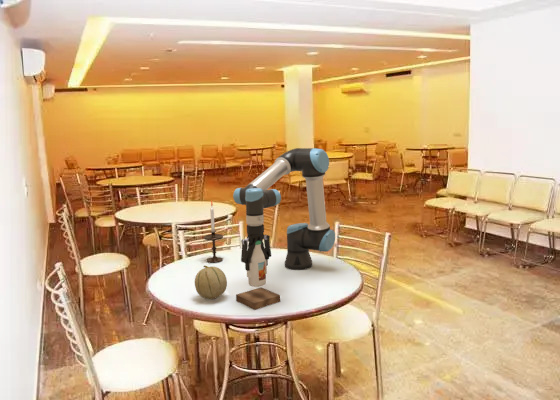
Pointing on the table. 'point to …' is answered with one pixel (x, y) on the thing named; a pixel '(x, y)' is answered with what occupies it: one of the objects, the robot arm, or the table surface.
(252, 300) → the block
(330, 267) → the table surface
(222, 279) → the cantaloupe
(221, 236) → the candlestick
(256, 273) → the milk bottle
